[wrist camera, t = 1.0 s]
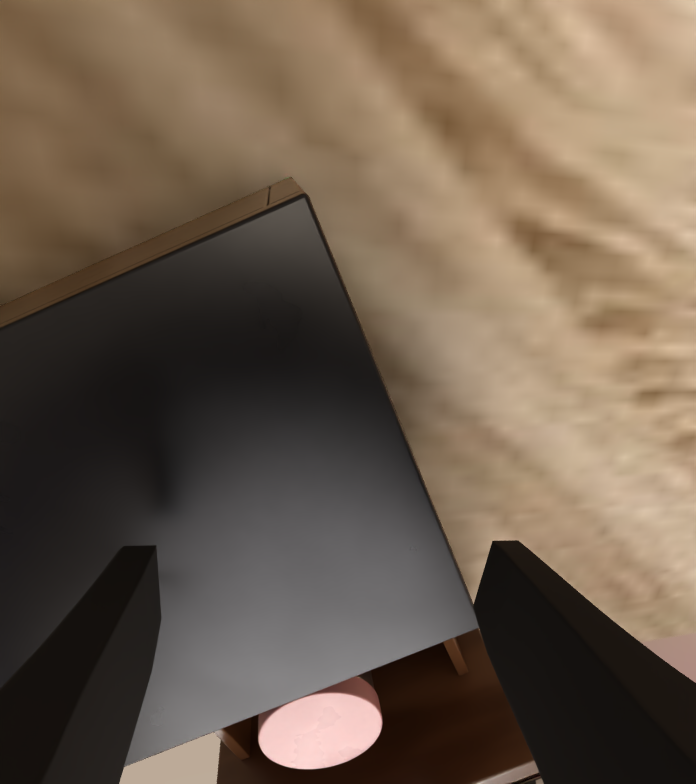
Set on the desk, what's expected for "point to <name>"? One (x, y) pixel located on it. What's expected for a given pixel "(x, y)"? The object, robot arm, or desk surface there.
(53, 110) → the desk surface
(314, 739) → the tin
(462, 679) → the drawer
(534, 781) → the candy bar box
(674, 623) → the desk surface
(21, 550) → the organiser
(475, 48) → the desk surface
